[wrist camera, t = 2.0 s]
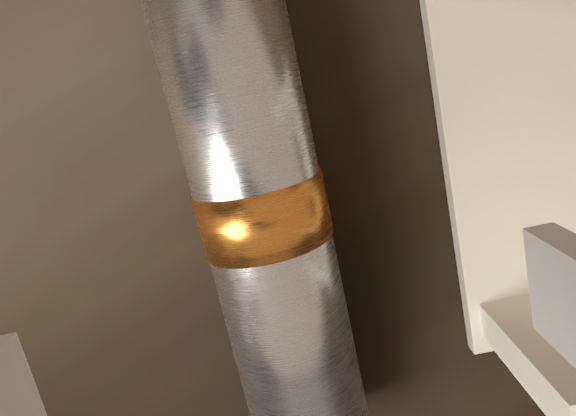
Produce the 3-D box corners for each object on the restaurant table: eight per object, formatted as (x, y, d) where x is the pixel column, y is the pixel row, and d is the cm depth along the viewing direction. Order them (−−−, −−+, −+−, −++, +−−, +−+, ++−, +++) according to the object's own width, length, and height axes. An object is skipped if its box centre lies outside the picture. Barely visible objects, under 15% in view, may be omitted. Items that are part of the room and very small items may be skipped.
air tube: (153, -51, 25) (87, -86, 19) (278, -87, 24) (248, -135, 18) (271, 410, 31) (248, 492, 25) (374, 401, 30) (375, 485, 24)
